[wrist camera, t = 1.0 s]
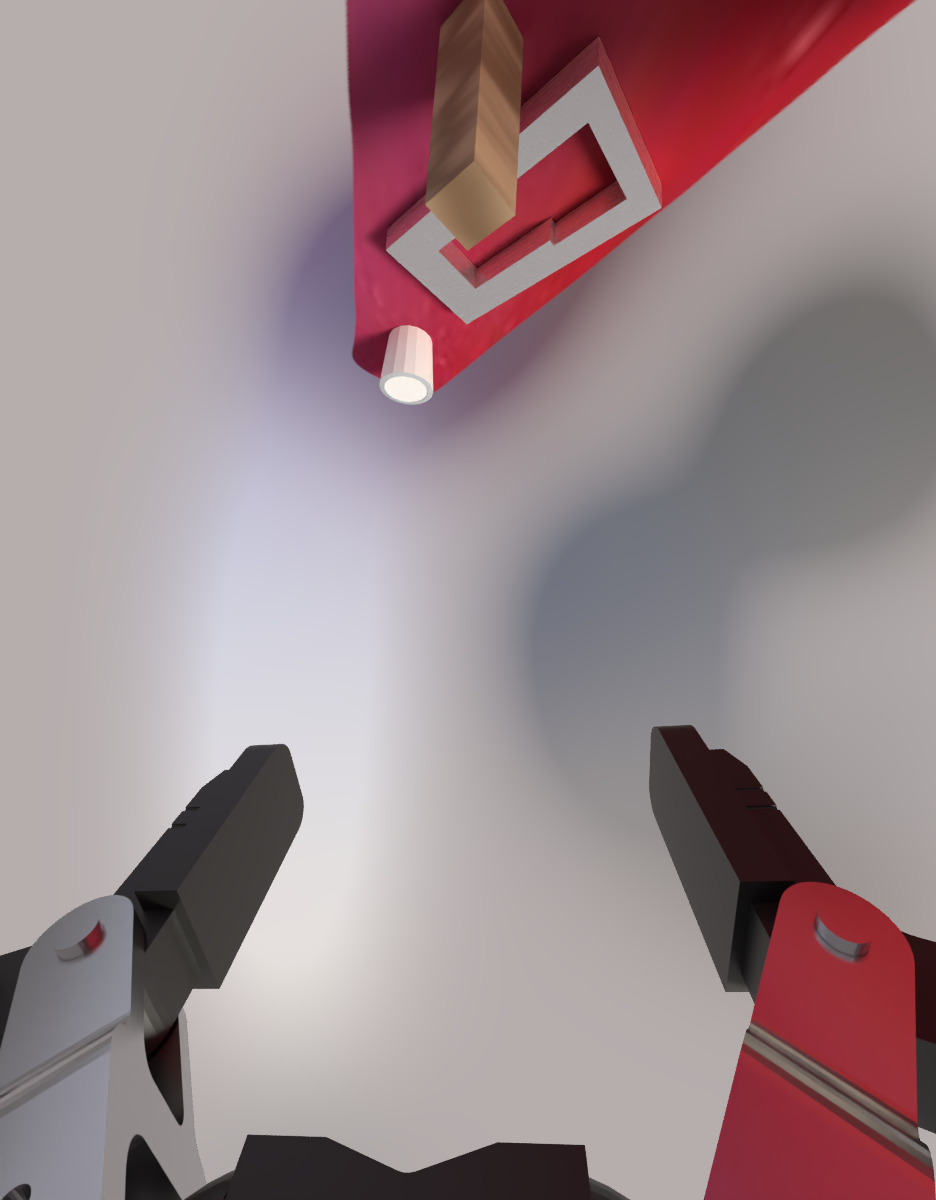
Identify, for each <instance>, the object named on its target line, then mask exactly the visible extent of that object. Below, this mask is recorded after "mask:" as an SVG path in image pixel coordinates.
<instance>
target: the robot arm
mask: <svg viewBox="0 0 936 1200" xmlns="http://www.w3.org/2000/svg"><path fill="white" fill-rule="evenodd" d="M649 791H650V799H651V804H652V809H653V813H654V816H655V818H656V821H657V823H658V826H659V828H660V831H661V833H662V836H663V838H664V841H665V843H666V846H667V848H668V851H669V853H670V856H671V858H672V860H673V863H674V866H675V868H676V870H677V873H678V875H679V878H680V880H681V883H682V885H683V888H684V890H685V893H686V895H687V897H688V900H689V903H690V905H691V908H692V910H693V912H694V915H695V917H696V920H697V922H698V925H699V927H700V930H701V932H702V935H703V937H704V940H705V942H706V945H707V947H708V949H709V952H710V955H711V957H712V959H713V962H714V964H715V967H716V969H717V972H718V974H719V977H720V979H721V982H722V984H723V986H724V989H725V991H726V992H750V994H751V997H752V999H753V1001H754V1004H755V1006H754V1010H753V1014H752V1018H751V1022H750V1025H749V1029H747V1030H746V1034H745V1037H744V1040H743V1044H742V1048H741V1051H740V1055H739V1059H738V1063H737V1068H736V1071H735V1076H734V1080H733V1084H732V1088H731V1092H730V1096H729V1100H728V1104H727V1108H726V1112H725V1116H724V1120H723V1124H722V1128H721V1132H720V1136H719V1140H718V1144H717V1148H716V1153H715V1157H714V1161H713V1165H712V1169H711V1173H710V1177H709V1181H708V1185H707V1189H706V1193H705V1197H704V1200H936V1198H935V1180H934V1170H933V1163H932V1158H931V1154H930V1151H929V1148H928V1146H927V1145H926V1144H925V1143H923V1142H922V1141H920V1138H919V1134H918V1127H920V1128H923V1129H925V1130H928V1131H930V1132H933V1133H935V1134H936V942H933V941H929V940H926V939H922V938H918V937H916V936H912V935H909V934H907V933H904V932H901V931H900V930H899V928H898V927H897V926H896V925H895V924H894V923H893V922H892V921H891V920H890V919H889V918H888V917H887V916H886V915H885V914H884V913H882V911H880V910H879V909H878V908H876V907H875V906H874V905H872V904H871V903H870V902H868V901H866V900H865V899H863V898H861V897H860V896H858V895H856V894H853V893H852V892H850V891H848V890H845V889H842V888H840V887H837V886H836V885H835V884H834V883H833V881H832V880H831V879H830V877H829V876H828V875H827V873H826V872H825V870H824V869H823V868H822V866H821V865H820V864H819V862H818V861H817V860H816V858H815V857H814V855H813V854H812V853H811V851H810V850H809V849H808V847H807V846H806V845H805V843H804V842H803V841H802V839H801V838H800V837H799V835H798V834H797V832H796V831H795V830H794V828H793V827H792V826H791V824H790V823H789V822H788V820H787V819H786V818H785V817H784V815H783V814H782V812H781V811H780V810H777V808H776V804H775V803H774V801H773V800H772V799H771V798H770V796H769V795H768V793H767V792H764V790H763V787H762V785H761V784H760V783H759V781H758V780H757V778H756V777H755V776H754V775H753V773H752V772H751V770H750V769H749V768H748V766H746V765H745V764H744V763H742V762H741V761H739V760H738V759H737V758H735V757H734V756H732V755H731V754H730V753H728V752H727V751H726V750H724V749H715V750H709V749H708V747H707V746H706V744H705V743H704V741H703V740H702V738H701V737H700V735H699V734H698V732H697V731H696V729H695V728H694V727H693V726H692V725H680V726H660V727H653V729H652V732H651V751H650V778H649ZM303 808H304V805H303V796H302V793H301V789H300V786H299V782H298V779H297V775H296V772H295V768H294V764H293V761H292V757H291V754H290V751H289V749H288V747H287V746H286V745H284V744H276V745H275V744H274V745H254V746H249V747H248V748H246V749H245V751H244V752H243V753H242V754H241V756H240V757H239V758H238V759H237V761H236V762H235V763H234V764H233V766H232V767H231V768H230V770H224V771H223V772H222V773H221V774H219V775H218V776H216V777H215V778H214V779H212V780H211V781H210V782H209V783H207V784H206V785H205V786H204V787H202V788H201V789H200V791H199V792H198V793H197V794H196V795H195V797H194V798H193V799H192V800H191V802H190V803H189V804H188V805H187V806H186V810H185V811H183V812H181V814H180V815H179V816H178V817H177V818H176V820H175V821H174V822H173V823H172V827H171V828H168V829H167V831H166V832H165V833H164V834H163V835H162V837H161V838H160V839H159V840H158V841H157V843H156V844H155V845H154V846H153V847H152V849H151V850H150V851H149V852H148V854H147V855H146V856H145V857H144V858H143V860H142V861H141V862H140V863H139V864H138V866H137V867H136V868H135V870H133V872H132V873H131V874H130V876H129V877H128V878H127V879H126V880H125V881H124V883H123V884H122V885H121V886H120V887H119V889H118V890H117V891H116V892H115V894H114V895H110V896H105V897H101V898H98V899H95V900H92V901H90V902H87V903H85V904H83V905H81V906H79V907H77V908H75V909H74V910H72V911H71V912H69V913H67V914H66V915H65V916H63V917H62V918H61V919H59V920H58V921H57V922H55V923H54V924H53V925H52V926H51V927H49V928H48V929H47V930H46V931H45V932H44V933H43V934H42V935H41V936H40V937H39V938H38V940H37V941H36V942H35V943H34V944H33V946H30V947H27V948H24V949H21V950H17V951H14V952H11V953H8V954H4V955H1V956H0V1200H630V1199H628V1198H626V1197H625V1196H623V1195H622V1194H620V1193H618V1192H617V1191H615V1190H614V1189H612V1188H610V1187H609V1186H607V1185H604V1184H602V1183H600V1182H597V1181H595V1180H593V1179H591V1178H589V1176H588V1168H587V1159H586V1151H585V1145H563V1144H531V1143H530V1144H529V1143H495V1144H492V1145H489V1146H486V1147H484V1148H481V1149H478V1150H475V1151H472V1152H469V1153H467V1154H464V1155H461V1156H458V1157H456V1158H453V1159H450V1160H447V1161H444V1162H441V1163H438V1164H436V1165H433V1166H430V1167H427V1168H424V1169H421V1170H419V1171H416V1172H411V1173H403V1172H400V1171H397V1170H395V1169H393V1168H391V1167H388V1166H386V1165H384V1164H382V1163H380V1162H378V1161H376V1160H374V1159H372V1158H369V1157H367V1156H365V1155H363V1154H361V1153H359V1152H357V1151H354V1150H352V1149H350V1148H348V1147H346V1146H344V1145H342V1144H340V1143H338V1142H336V1141H333V1140H331V1139H329V1138H327V1137H303V1136H271V1135H247V1138H246V1141H245V1144H244V1147H243V1149H242V1152H241V1155H240V1158H239V1161H238V1163H237V1166H236V1169H235V1170H234V1171H231V1172H229V1173H227V1174H225V1175H223V1176H221V1177H219V1178H217V1179H215V1180H214V1181H212V1182H210V1183H208V1184H206V1180H205V1176H204V1172H203V1168H202V1165H201V1162H200V1158H199V1154H198V1149H197V1144H196V1139H195V1129H194V1116H193V1102H192V1088H191V1074H190V1061H189V1047H188V1032H187V1019H186V1014H185V1012H184V1010H183V1008H182V1007H183V1005H184V1004H185V1002H186V1000H187V998H188V996H189V994H190V993H191V991H192V989H219V988H220V986H221V984H222V982H223V980H224V978H225V976H226V974H227V972H228V970H229V968H230V966H231V964H232V962H233V960H234V958H235V956H236V954H237V952H238V950H239V948H240V946H241V944H242V942H243V940H244V938H245V936H246V934H247V932H248V930H249V928H250V926H251V924H252V922H253V920H254V918H255V916H256V914H257V912H258V910H259V908H260V906H261V904H262V902H263V900H264V898H265V896H266V894H267V892H268V890H269V888H270V886H271V884H272V882H273V880H274V878H275V876H276V874H277V872H278V870H279V867H280V866H281V864H282V862H283V860H284V858H285V856H286V854H287V852H288V850H289V848H290V846H291V843H292V842H293V840H294V838H295V835H296V834H297V831H298V830H299V827H300V825H301V821H302V817H303Z"/></svg>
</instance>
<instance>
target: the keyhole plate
mask: <svg viewBox="0 0 936 1200" xmlns="http://www.w3.org/2000/svg"><path fill="white" fill-rule="evenodd" d="M587 123H589V125H590V127H591V129H592V131H593V133H594V135H595V137H596V139H597V141H598V143H599V145H600V147H601V149H602V151H603V153H604V155H605V157H606V159H607V161H608V163H609V165H610V167H611V169H612V171H613V173H614V175H615V177H616V179H617V181H616V182H614V183H613V184H611V185H610V186H609V187H607V188H606V189H604V190H603V191H601V192H600V193H598V194H597V195H595V196H594V197H592V198H591V199H589V200H588V201H586V202H585V203H583V204H582V205H580V206H579V207H577V208H576V209H574V210H573V211H572V212H570V213H569V214H567V215H566V216H564V217H563V218H561V219H560V220H558V221H557V222H555V223H554V221H553V220H552V218H551V217H550V218H549V219H548V220H546V221H545V222H543V223H542V224H540V225H539V226H537V227H536V228H534V229H533V230H532V231H530V232H529V233H527V234H526V235H524V236H523V237H521V238H520V239H519V240H517V241H516V242H514V243H513V244H511V245H510V246H508V247H507V248H505V249H504V250H503V251H501V252H500V253H498V254H497V255H495V256H494V257H492V258H491V259H490V260H488V261H487V262H485V263H484V264H482V265H481V266H479V267H478V268H476V267H475V266H474V265H473V264H472V262H471V261H470V260H469V259H468V258H467V257H466V256H465V255H464V254H463V253H462V252H461V251H460V250H459V249H458V247H457V246H456V245H455V244H454V243H453V242H452V240H453V239H454V238H455V237H454V235H453V234H452V233H451V232H450V231H449V230H448V229H447V228H446V227H445V226H444V225H443V223H442V222H441V221H440V220H439V219H438V218H437V217H436V216H435V215H434V214H433V213H432V212H431V210H430V209H429V208H428V207H427V206H426V205H425V200H426V194H425V195H424V196H423V197H421V198H420V199H419V200H418V201H417V202H416V203H415V204H414V205H413V206H412V207H410V208H409V209H408V210H407V211H406V212H405V213H404V214H403V215H402V216H401V217H400V218H398V219H397V220H396V221H395V222H394V223H393V224H392V225H391V226H390V227H389V228H388V232H387V242H386V251H387V252H388V253H389V254H390V255H391V256H393V257H394V258H395V259H396V260H397V261H398V262H399V263H400V264H401V265H402V266H404V267H405V268H406V269H407V270H408V271H409V272H410V273H411V274H412V275H413V276H415V277H416V278H417V279H418V280H419V281H420V282H421V283H422V284H423V285H424V286H426V287H427V288H428V289H429V290H430V291H431V292H432V293H433V294H434V295H435V296H437V297H438V298H439V299H440V300H441V301H442V302H443V303H444V304H445V305H446V306H448V307H449V308H450V309H451V310H452V311H453V312H454V313H455V314H456V315H457V316H458V317H460V318H461V319H462V320H463V321H464V322H465V323H466V324H468V323H470V322H471V321H473V320H475V319H476V318H478V317H480V316H481V315H483V314H485V313H486V312H488V311H490V310H491V309H493V308H495V307H496V306H498V305H500V304H501V303H503V302H505V301H506V300H508V299H510V298H512V297H513V296H515V295H517V294H518V293H520V292H522V291H523V290H525V289H527V288H528V287H530V286H532V285H533V284H535V283H537V282H538V281H540V280H542V279H543V278H545V277H547V276H548V275H550V274H552V273H553V272H555V271H557V270H558V269H560V268H562V267H563V266H565V265H567V264H568V263H570V262H572V261H573V260H575V259H577V258H578V257H580V256H582V255H583V254H585V253H587V252H588V251H590V250H592V249H593V248H595V247H597V246H598V245H600V244H602V243H603V242H605V241H607V240H609V239H610V238H612V237H614V236H615V235H617V234H619V233H620V232H622V231H624V230H625V229H627V228H629V227H630V226H632V225H634V224H635V223H637V222H639V221H640V220H642V219H644V218H645V217H647V216H649V215H650V214H652V213H654V212H655V211H657V210H659V209H660V208H662V195H661V181H660V179H659V176H658V174H657V171H656V169H655V167H654V164H653V162H652V160H651V157H650V155H649V153H648V150H647V148H646V145H645V143H644V141H643V138H642V136H641V134H640V131H639V129H638V127H637V124H636V122H635V119H634V117H633V115H632V112H631V110H630V108H629V105H628V103H627V100H626V98H625V96H624V93H623V91H622V89H621V86H620V84H619V82H618V79H617V77H616V74H615V72H614V70H613V67H612V65H611V63H610V60H609V58H608V56H607V53H606V51H605V48H604V46H603V44H602V41H601V39H600V37H599V36H598V37H597V38H596V39H595V40H594V41H593V42H591V43H590V44H589V45H588V46H587V47H586V48H585V49H584V50H583V51H582V52H580V53H579V54H578V55H577V56H576V57H575V58H574V59H573V60H572V61H571V62H569V63H568V64H567V65H566V66H565V67H564V68H563V69H562V70H561V71H560V72H559V73H557V74H556V75H555V76H554V77H553V78H552V79H551V80H550V81H549V82H548V83H546V84H545V85H544V86H543V87H542V88H541V89H540V90H539V91H538V92H537V93H535V94H534V95H533V96H532V97H531V98H530V99H529V100H528V101H527V102H526V103H525V104H523V105H522V106H521V108H520V128H519V149H518V170H517V179H518V178H519V177H520V176H521V175H523V174H524V173H525V172H527V171H528V170H529V169H530V168H532V167H533V166H534V165H535V164H537V163H538V162H539V161H540V160H542V159H543V158H544V157H545V156H547V155H548V154H549V153H550V152H552V151H553V150H554V149H555V148H557V147H558V146H559V145H560V144H562V143H563V142H564V141H566V140H567V139H568V138H569V137H571V136H572V135H573V134H574V133H576V132H577V131H578V130H579V129H581V128H582V127H583V126H584V125H586V124H587Z"/></svg>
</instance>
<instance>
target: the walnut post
mask: <svg viewBox="0 0 936 1200" xmlns="http://www.w3.org/2000/svg"><path fill="white" fill-rule="evenodd" d="M523 46H524V38H523V37H522V35H521V33H520V31H519V29H518V27H517V25H516V24H515V22H514V20H513V18H512V16H511V14H510V12H509V11H508V9H507V7H506V5H505V3H504V1H503V0H462V1H461V3H460V4H459V5H458V6H457V8H456V9H455V10H454V11H453V12H452V14H451V15H450V16H449V17H448V18H447V20H446V21H445V22H444V23H443V25H442V26H441V27H440V36H439V48H438V60H437V72H436V83H435V95H434V107H433V118H432V130H431V142H430V153H429V165H428V177H427V188H426V200H425V205H426V206H427V207H428V208H429V209H430V210H431V212H432V213H433V214H434V215H435V216H436V217H437V218H438V219H439V220H440V221H441V222H442V223H443V225H444V226H445V227H446V228H447V229H448V230H449V231H450V232H451V233H452V234H453V235H454V237H455V238H456V239H457V240H458V241H459V242H460V243H461V244H462V245H463V246H464V247H465V249H466V250H469V249H470V248H471V247H473V246H474V245H476V244H477V243H478V242H480V241H481V240H482V239H484V238H485V237H486V236H488V235H489V234H491V233H492V232H493V231H495V230H496V229H497V228H499V227H500V226H501V225H503V224H504V223H506V222H507V221H508V220H510V219H511V218H512V217H514V216H515V211H516V190H517V170H518V149H519V128H520V108H521V87H522V66H523Z"/></svg>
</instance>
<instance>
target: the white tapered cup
mask: <svg viewBox="0 0 936 1200" xmlns="http://www.w3.org/2000/svg"><path fill="white" fill-rule="evenodd" d="M380 389H381V391H382V392H383V394H384V395H386V396H387V397H388V398H390V399H392V400H394V401H396V402H399V403H404V404H420V403H423V402H426V401H427V400H429V399H430V398H431V397H432V393H433V364H432V341H431V338H430V336H429V335H428V334H427V333H426V332H425V331H423V330H421V329H420V328H418V327H414V326H409V325H407V326H399V327H397V328H394V329H393V330H392V331H391V333H390V334H389V339H388V344H387V349H386V354H385V359H384V364H383V369H382V374H381V379H380Z"/></svg>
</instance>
